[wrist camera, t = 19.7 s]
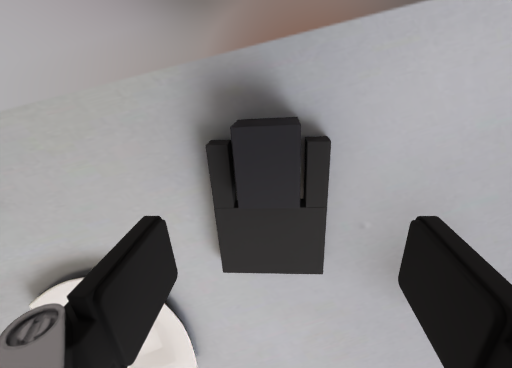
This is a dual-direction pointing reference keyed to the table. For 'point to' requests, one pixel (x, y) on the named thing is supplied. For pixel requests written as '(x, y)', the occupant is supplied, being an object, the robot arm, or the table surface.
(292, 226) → the socket pad
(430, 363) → the table surface
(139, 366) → the plate
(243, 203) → the black rectangular block
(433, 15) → the table surface
